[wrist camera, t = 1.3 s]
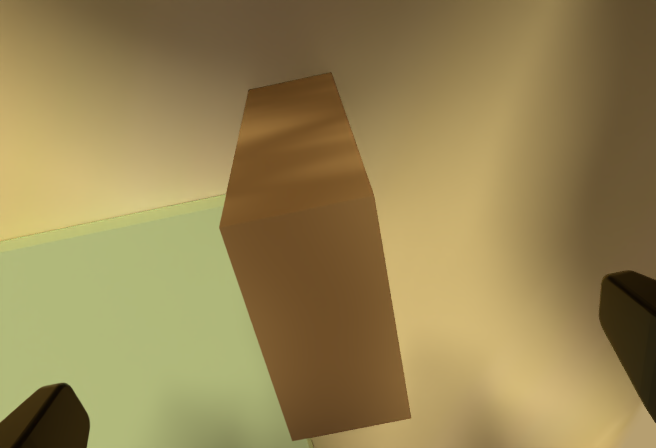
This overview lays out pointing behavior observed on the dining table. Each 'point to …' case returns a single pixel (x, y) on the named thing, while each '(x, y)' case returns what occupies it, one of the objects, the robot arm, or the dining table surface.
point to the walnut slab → (313, 261)
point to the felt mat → (139, 332)
